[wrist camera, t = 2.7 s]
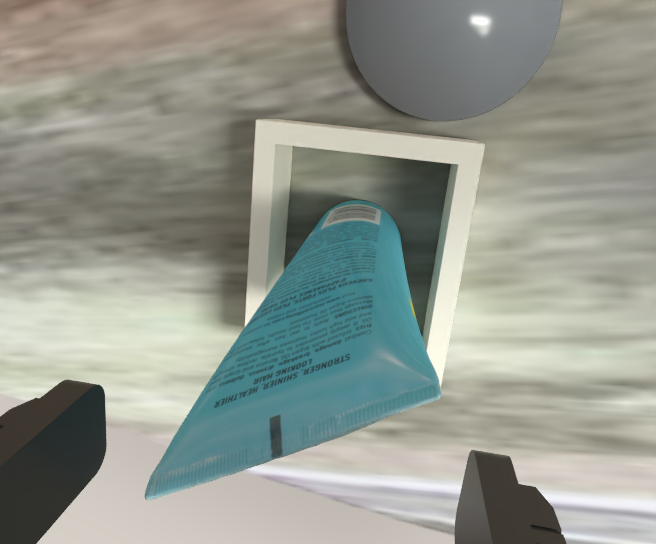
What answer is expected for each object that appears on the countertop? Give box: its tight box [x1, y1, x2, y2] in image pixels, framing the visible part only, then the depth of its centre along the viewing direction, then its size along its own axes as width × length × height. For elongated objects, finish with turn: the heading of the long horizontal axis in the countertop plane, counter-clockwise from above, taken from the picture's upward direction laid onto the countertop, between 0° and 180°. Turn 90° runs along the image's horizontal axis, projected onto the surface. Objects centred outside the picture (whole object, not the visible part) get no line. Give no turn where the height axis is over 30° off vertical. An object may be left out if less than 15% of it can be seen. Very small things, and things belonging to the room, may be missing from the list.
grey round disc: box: [346, 0, 562, 121], centre depth 25 cm, size 10×10×1 cm
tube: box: [145, 200, 441, 500], centre depth 20 cm, size 7×5×19 cm, turn 122°
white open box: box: [245, 119, 485, 388], centre depth 28 cm, size 10×12×4 cm
